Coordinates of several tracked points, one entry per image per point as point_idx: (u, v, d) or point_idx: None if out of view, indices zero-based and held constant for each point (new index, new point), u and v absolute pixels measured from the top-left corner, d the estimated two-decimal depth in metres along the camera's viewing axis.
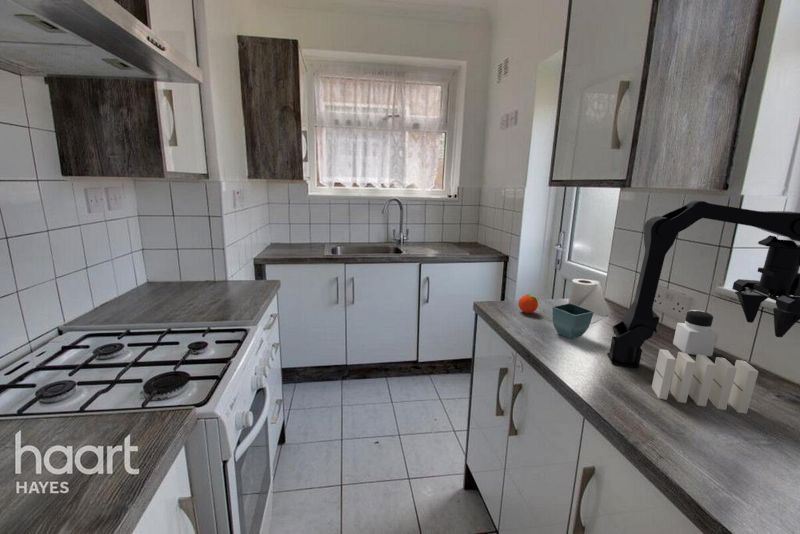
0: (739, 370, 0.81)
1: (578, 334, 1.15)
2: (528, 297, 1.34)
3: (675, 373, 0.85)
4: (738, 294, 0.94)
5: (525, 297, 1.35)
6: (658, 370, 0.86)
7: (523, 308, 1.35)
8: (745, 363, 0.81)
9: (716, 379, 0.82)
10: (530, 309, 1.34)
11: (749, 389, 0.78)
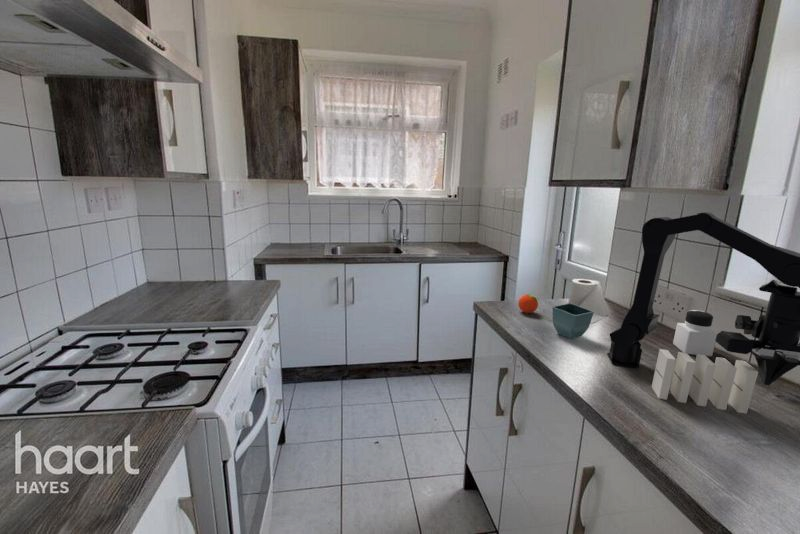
0: (739, 370, 0.81)
1: (578, 334, 1.15)
2: (528, 297, 1.34)
3: (675, 373, 0.85)
4: (770, 360, 0.76)
5: (525, 297, 1.35)
6: (658, 370, 0.86)
7: (523, 308, 1.35)
8: (745, 363, 0.81)
9: (716, 379, 0.82)
10: (530, 309, 1.34)
11: (749, 389, 0.78)
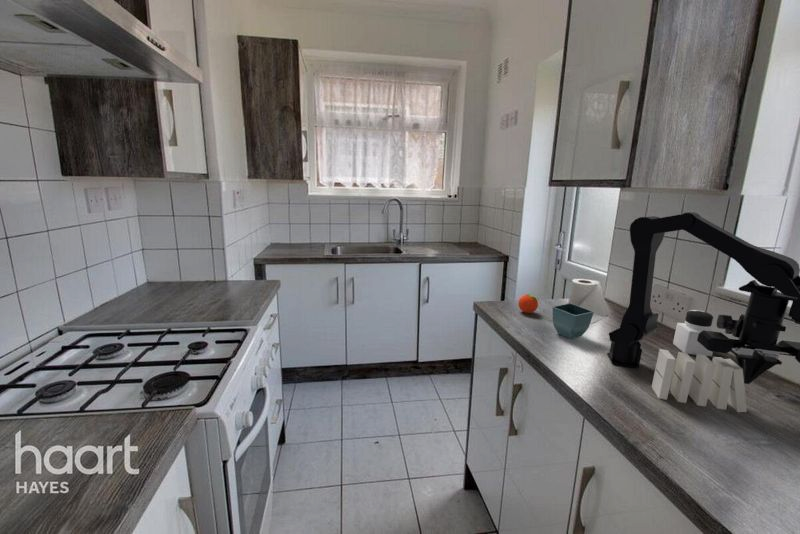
0: None
1: (578, 334, 1.15)
2: (528, 297, 1.34)
3: (675, 373, 0.85)
4: (749, 359, 0.77)
5: (525, 297, 1.35)
6: (658, 370, 0.86)
7: (523, 308, 1.35)
8: (730, 361, 0.81)
9: (714, 379, 0.82)
10: (530, 309, 1.34)
11: (740, 387, 0.79)
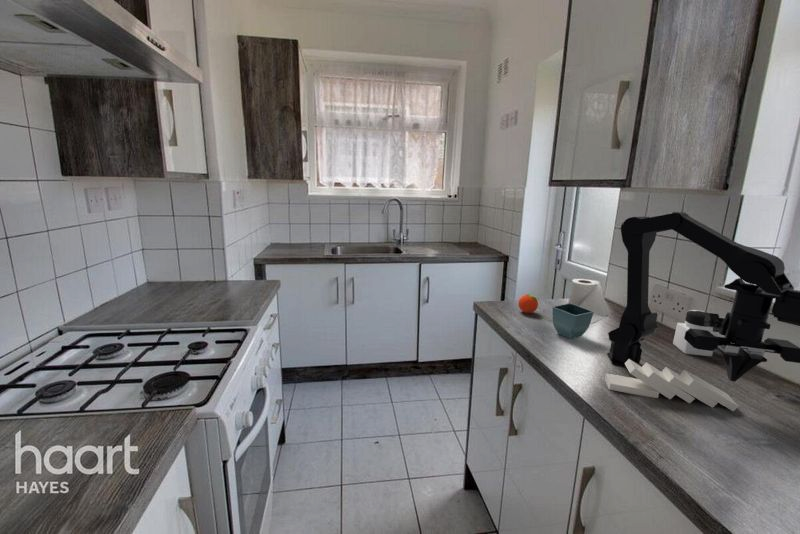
0: None
1: (578, 334, 1.15)
2: (528, 297, 1.34)
3: None
4: (735, 357, 0.77)
5: (525, 297, 1.35)
6: None
7: (523, 308, 1.35)
8: (685, 374, 0.85)
9: None
10: (530, 309, 1.34)
11: (710, 393, 0.81)
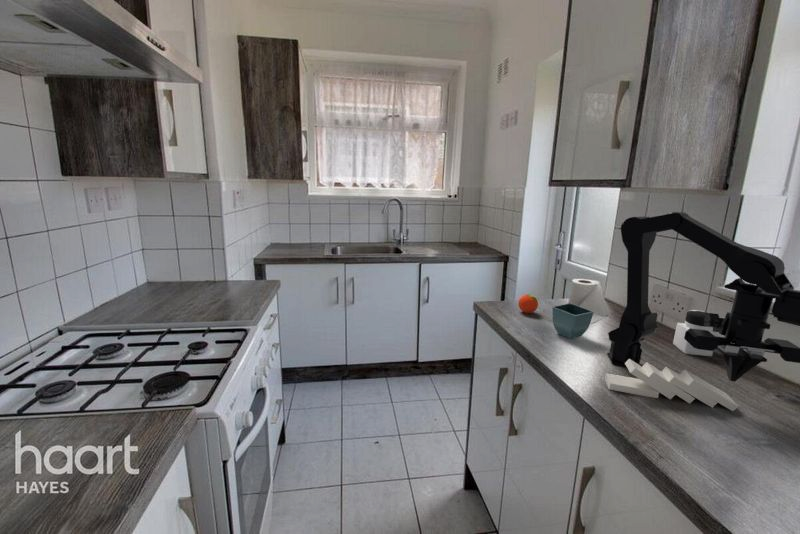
0: None
1: (578, 334, 1.15)
2: (528, 297, 1.34)
3: None
4: (735, 357, 0.77)
5: (525, 297, 1.35)
6: None
7: (523, 308, 1.35)
8: (685, 374, 0.85)
9: None
10: (530, 309, 1.34)
11: (710, 393, 0.81)
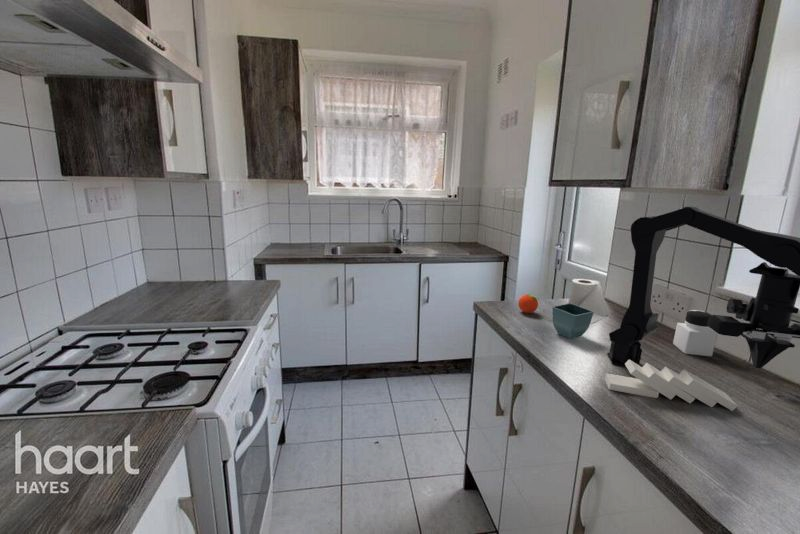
0: None
1: (578, 334, 1.15)
2: (528, 297, 1.34)
3: None
4: (761, 343, 0.75)
5: (525, 297, 1.35)
6: None
7: (523, 308, 1.35)
8: (684, 373, 0.85)
9: None
10: (530, 309, 1.34)
11: (709, 393, 0.81)
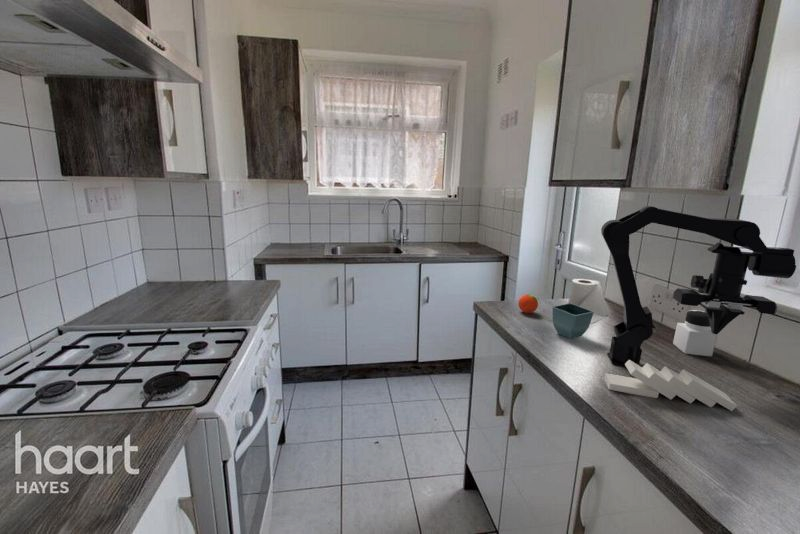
0: None
1: (578, 334, 1.15)
2: (528, 297, 1.34)
3: None
4: (716, 311, 0.88)
5: (525, 297, 1.35)
6: None
7: (523, 308, 1.35)
8: (684, 373, 0.85)
9: None
10: (530, 309, 1.34)
11: (709, 393, 0.81)
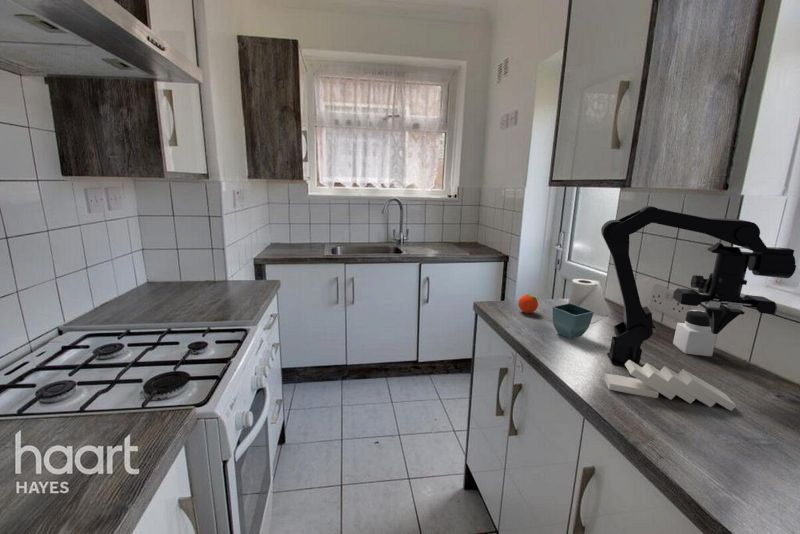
0: None
1: (578, 334, 1.15)
2: (528, 297, 1.34)
3: None
4: (716, 311, 0.88)
5: (525, 297, 1.35)
6: None
7: (523, 308, 1.35)
8: (683, 373, 0.85)
9: None
10: (530, 309, 1.34)
11: (708, 393, 0.81)
